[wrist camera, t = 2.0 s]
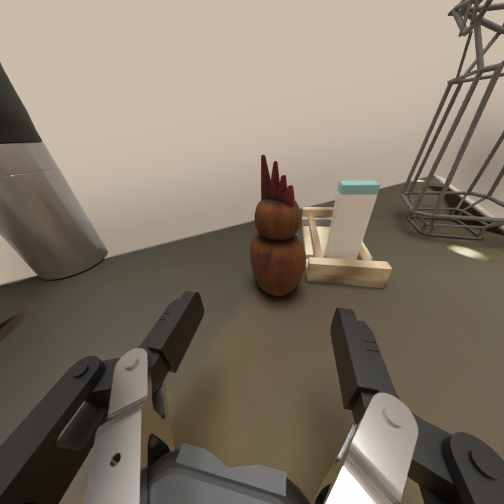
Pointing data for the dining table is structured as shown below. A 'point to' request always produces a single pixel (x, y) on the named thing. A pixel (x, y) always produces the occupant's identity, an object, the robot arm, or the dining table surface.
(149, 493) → the robot arm
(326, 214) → the light wooden tray
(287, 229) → the wooden figurine
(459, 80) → the geometric lantern
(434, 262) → the dining table surface
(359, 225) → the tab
